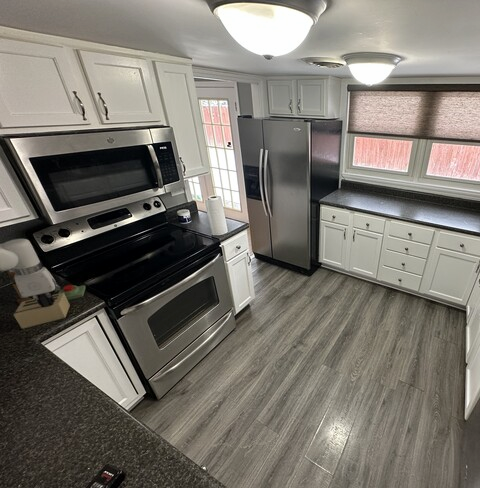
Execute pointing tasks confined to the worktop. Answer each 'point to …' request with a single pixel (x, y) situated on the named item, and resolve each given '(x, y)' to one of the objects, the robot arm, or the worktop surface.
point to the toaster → (41, 311)
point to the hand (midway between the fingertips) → (48, 304)
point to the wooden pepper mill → (17, 289)
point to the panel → (74, 292)
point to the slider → (44, 300)
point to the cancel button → (68, 288)
